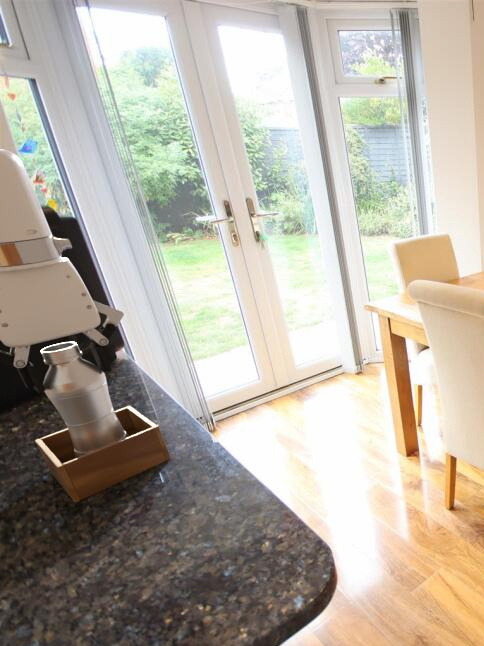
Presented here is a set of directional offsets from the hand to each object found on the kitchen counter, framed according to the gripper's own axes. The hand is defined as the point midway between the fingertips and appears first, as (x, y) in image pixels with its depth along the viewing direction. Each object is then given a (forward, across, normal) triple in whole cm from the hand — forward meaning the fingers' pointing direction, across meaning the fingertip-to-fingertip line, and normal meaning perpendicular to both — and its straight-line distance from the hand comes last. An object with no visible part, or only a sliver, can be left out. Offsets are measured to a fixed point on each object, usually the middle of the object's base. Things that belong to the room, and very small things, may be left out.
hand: (73, 378), depth 65 cm
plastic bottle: (+15, 0, 0) cm, 15 cm away
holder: (+15, 0, 0) cm, 15 cm away
